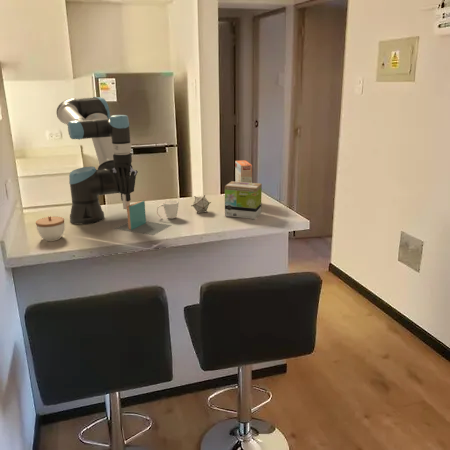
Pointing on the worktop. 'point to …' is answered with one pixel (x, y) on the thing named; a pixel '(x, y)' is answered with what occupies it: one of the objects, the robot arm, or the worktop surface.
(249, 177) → the cracker box
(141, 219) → the tile
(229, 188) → the tea box
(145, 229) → the mat
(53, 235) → the lidded jar
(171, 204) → the cup
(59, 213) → the worktop surface
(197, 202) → the game die
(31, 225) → the worktop surface
